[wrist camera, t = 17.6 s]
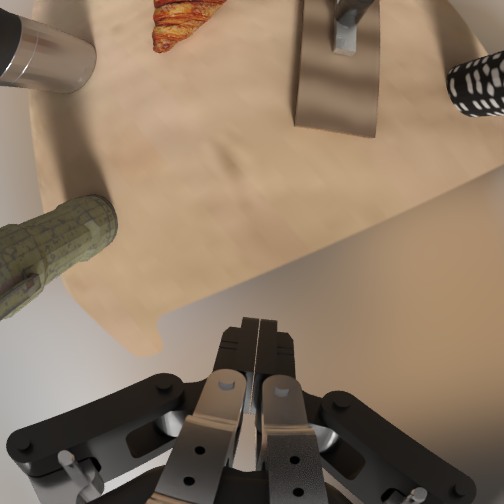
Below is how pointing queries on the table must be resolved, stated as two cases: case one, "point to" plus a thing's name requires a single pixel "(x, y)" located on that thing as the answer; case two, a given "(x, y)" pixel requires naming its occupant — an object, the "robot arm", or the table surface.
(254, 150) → the table surface
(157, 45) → the croissant
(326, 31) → the door board
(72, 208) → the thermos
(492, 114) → the spotted tube
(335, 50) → the bolt
